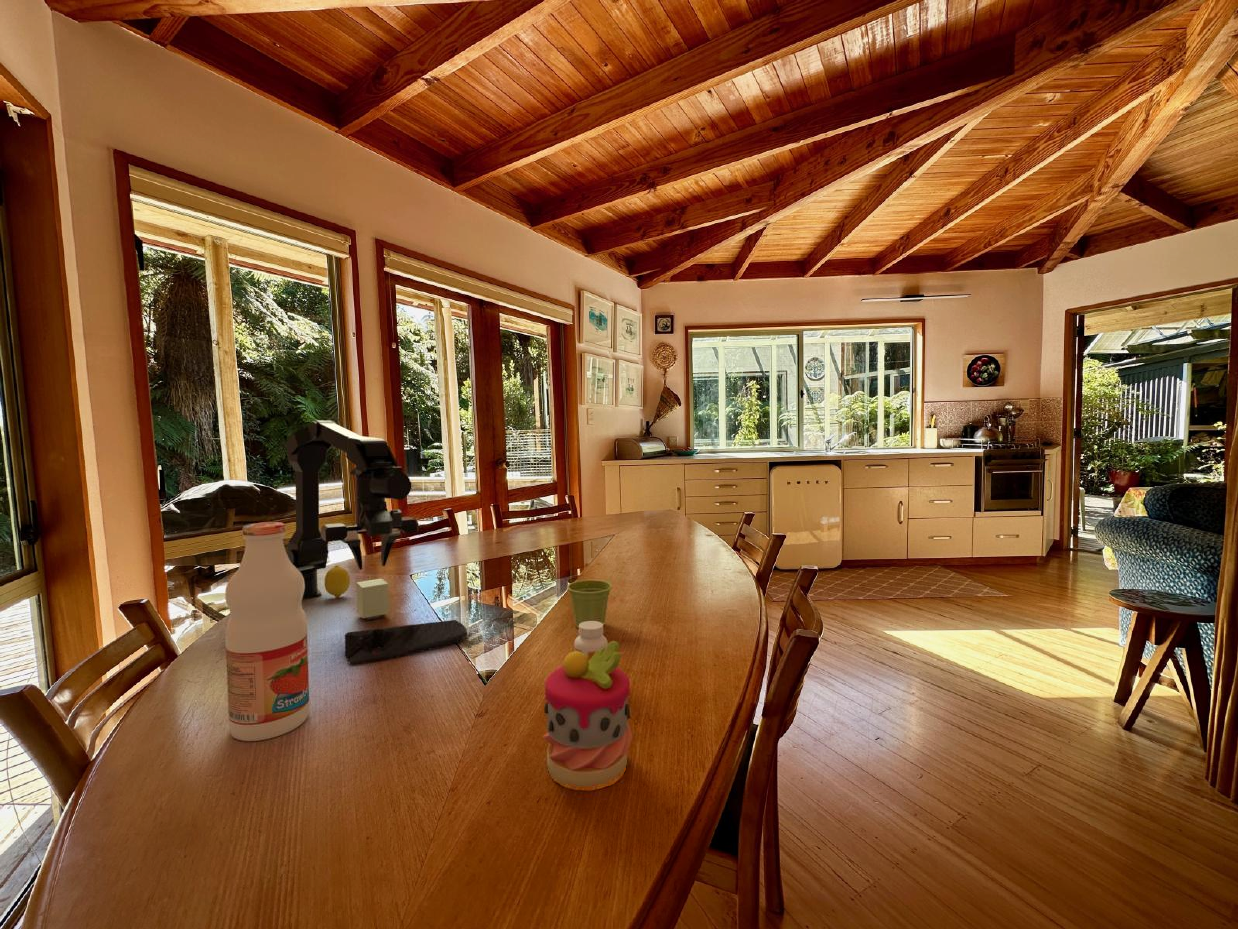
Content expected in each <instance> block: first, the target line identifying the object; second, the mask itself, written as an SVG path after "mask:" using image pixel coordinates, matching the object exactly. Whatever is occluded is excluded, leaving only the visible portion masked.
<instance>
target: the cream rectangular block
mask: <svg viewBox="0 0 1238 929" xmlns="http://www.w3.org/2000/svg"><path fill="white" fill-rule="evenodd" d="M389 605H390V604H389V582H387V581H385V580H384V579H383V578H377V579H371V580H370V579H369V580H363V581H357V582H356V613H358V615H359V616H360V617H361V618H362V619H367V617H372V616H377V615H381V616H382V615H387V614H389V612H390V611H389V608H390V606H389Z"/></svg>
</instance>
